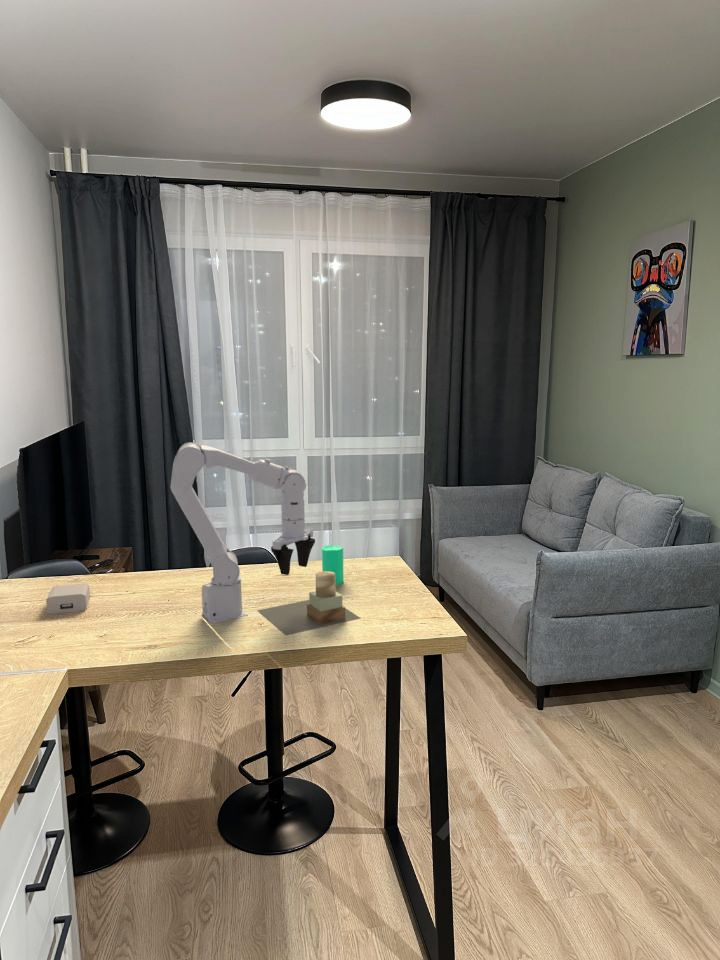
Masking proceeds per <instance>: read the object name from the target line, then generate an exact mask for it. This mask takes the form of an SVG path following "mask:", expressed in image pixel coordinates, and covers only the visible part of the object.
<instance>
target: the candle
mask: <svg viewBox="0 0 720 960" xmlns="http://www.w3.org/2000/svg"><path fill="white" fill-rule="evenodd" d="M333 543H334V542H332V543H331V545H329V544H327V545H324V546H323V547H322V548H321V557H322V558H321V562H322V563H321V566H322V567H321V568H322V569H321V570H322V571H321V572H323V571H330V572H334V573H335V585H342V584H344V582H345V581H344V548H343V547H342V546H340V545H338V544H337V545H334V544H333Z"/></svg>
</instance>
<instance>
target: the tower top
mask: <svg viewBox="0 0 720 960" xmlns="http://www.w3.org/2000/svg"><path fill="white" fill-rule="evenodd" d="M308 594H309V597H308V598H309V599H308V600H309V604H310V605H312V606H313V607H314V608H316V609H317V610H319V611H320V612H322V611H327V610H331V609H336V608H341V607H342V605H343V595H342V594H341V593H339V592H338V591H336V594H335V595H334V596H332V597H319V596H317V595H316V590H314V591H310V592H309V593H308Z"/></svg>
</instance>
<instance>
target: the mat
mask: <svg viewBox="0 0 720 960" xmlns="http://www.w3.org/2000/svg"><path fill="white" fill-rule="evenodd" d="M308 603H309V599H306V600H301V601H297V602H292V603H288V604H282V605H277V606H276V605H275V606H272V607H268V608H267V607H266V608H262V609H257V610H256V611H257V613H259V614H260V615H261V616H262V617H264V618H265V620H267V621H268V622H269V623H270V624H272V625H273V626H274V627H275V628H276V629H278V630H279V631H280V632H281V633H282V634H283V635H285V636H289V635H293V634H294V635H295V634H298V633H303V632H306V631H310V630H316V629H320V628H324V627H329V626H333V625H334V626H335V625H338V624H342V623H346V622H351V621H355V620H359V619H361V617H360V616H358V615H357V614H355V613H354V612H353V611H351V610H349V609H347V608H346V607H345V619H343V620H339V621H334V622H330V623H325V624H321V625H319V624H318V623H317V622H315V621H314V620H313V619H311V618H310V617H309V616H307V604H308Z"/></svg>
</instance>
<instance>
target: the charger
mask: <svg viewBox="0 0 720 960" xmlns="http://www.w3.org/2000/svg"><path fill="white" fill-rule="evenodd" d="M90 591H91V590H90V585H89V584H88V583H82V582H81V583H73V584H64V585H63V584H62V585H61V584H60V585H56V586H53V587H52V588H51V590H50V592H49V593H48V596H47V597H46V601H45V602H46V603H45V604H46V612H47V614H48V615H55V614H65V613H66V614H67V613H76V612H84V611H86V610H87V607H88V604H89V602H90V598H91V592H90Z"/></svg>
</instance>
